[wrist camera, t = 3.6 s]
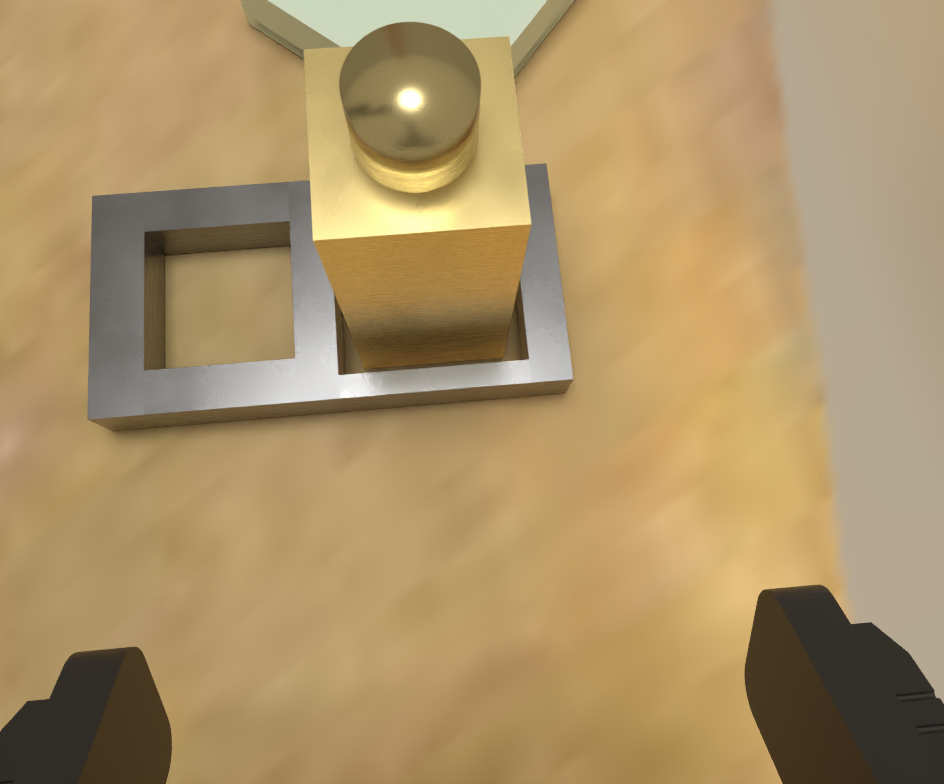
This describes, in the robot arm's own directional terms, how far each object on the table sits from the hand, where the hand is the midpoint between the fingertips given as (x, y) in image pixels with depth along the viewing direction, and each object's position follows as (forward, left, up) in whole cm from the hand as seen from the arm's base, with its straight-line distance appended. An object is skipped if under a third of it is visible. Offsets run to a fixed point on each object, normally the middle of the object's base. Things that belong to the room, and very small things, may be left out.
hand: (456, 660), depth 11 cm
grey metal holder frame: (+6, +10, -17) cm, 21 cm away
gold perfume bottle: (+9, +7, -17) cm, 20 cm away
